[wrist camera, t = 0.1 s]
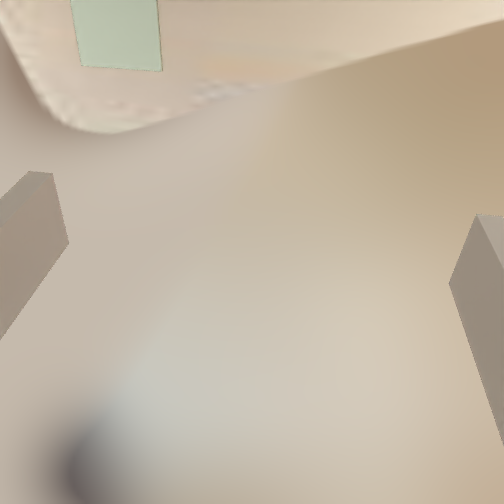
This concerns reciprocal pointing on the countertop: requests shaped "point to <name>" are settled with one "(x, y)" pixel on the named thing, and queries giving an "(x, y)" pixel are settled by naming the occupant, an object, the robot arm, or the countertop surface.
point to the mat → (118, 33)
